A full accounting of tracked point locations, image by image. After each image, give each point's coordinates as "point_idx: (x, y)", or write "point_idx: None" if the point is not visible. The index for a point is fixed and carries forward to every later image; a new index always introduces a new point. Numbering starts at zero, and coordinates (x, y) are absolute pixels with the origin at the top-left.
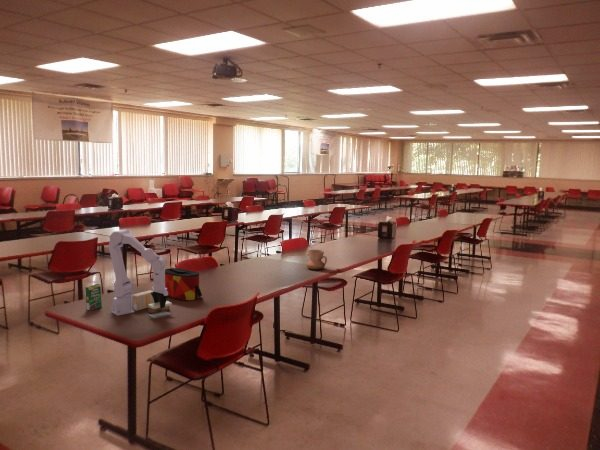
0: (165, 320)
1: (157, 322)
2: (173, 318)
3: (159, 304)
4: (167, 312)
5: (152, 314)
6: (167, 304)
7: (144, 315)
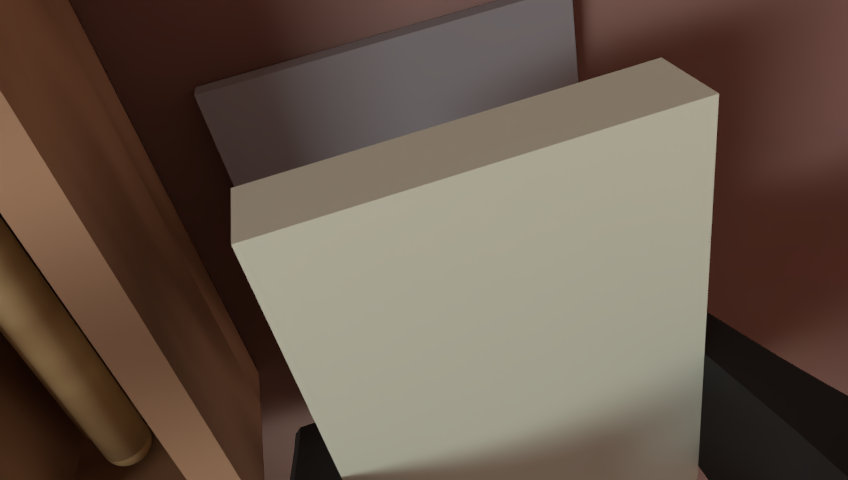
0: (807, 191)
1: (794, 316)
2: (825, 14)
3: (608, 476)
4: (376, 72)
5: None
6: (691, 253)
7: None
